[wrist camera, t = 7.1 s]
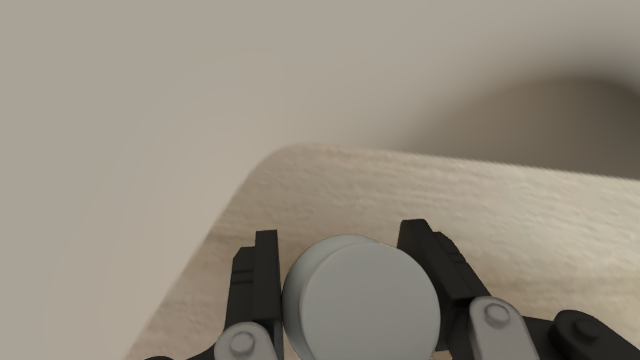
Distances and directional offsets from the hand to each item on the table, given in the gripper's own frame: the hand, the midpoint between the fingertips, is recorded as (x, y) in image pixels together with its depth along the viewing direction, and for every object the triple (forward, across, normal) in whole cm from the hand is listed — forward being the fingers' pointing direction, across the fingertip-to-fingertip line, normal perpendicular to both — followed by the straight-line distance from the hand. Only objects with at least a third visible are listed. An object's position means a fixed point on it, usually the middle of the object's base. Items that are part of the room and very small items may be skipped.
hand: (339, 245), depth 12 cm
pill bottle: (+2, 0, +4) cm, 5 cm away
